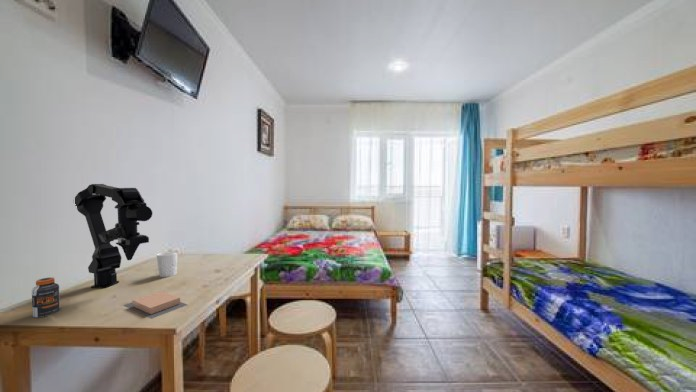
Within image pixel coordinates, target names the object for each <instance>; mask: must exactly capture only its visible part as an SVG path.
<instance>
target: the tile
mask: <svg viewBox="0 0 696 392" xmlns="http://www.w3.org/2000/svg"><path fill="white" fill-rule="evenodd" d="M180 302H181V297H179V296H177V295H173V294H171V293H169V292H165V291H162V290H161V291H157V292H153V293H151V294H147V295H145V296H142V297H138V298H135V299H132V301H131V303H133V306H134V307H136V308H138V309H140V310H143V311H145V312H147V313H149V314H153V313H156V312H159V311H162V310H164V309H167V308H170V307H172V306H175V305H178V304H180Z"/></svg>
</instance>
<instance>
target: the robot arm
mask: <svg viewBox="0 0 696 392" xmlns="http://www.w3.org/2000/svg"><path fill="white" fill-rule="evenodd" d="M107 197H108V198H110V199H111V201H113V202H115V203H116V205H114V209H117V222H116V223H115V225H114V227H113V228H110V229H108V230H107V229H106V225H105V223H104V219H103V216H102V214H101V213H102V210H103V208H104V202H105V201H106V200H107ZM74 198H75V204H76V205H74V206H75V207H76V206H77V208H76V210H77V211H78V212H79V213H80V214H81V215H82V216H84V217H85V221H86V224H87V227H88V230H89V233H90V236H91V238H92V239H91V240H92V243H93V245H94V251H93V253H92V256H91V259H92V261H91V262H90V263H89V265H88V267H87V269H88V273H89V274H93V278H94V279H93V282H94V285H91V286H90V288H91V289H93V288H99V289H101V288H104V289H105V288H108V287H111V286H114V285H115V284H118V283H120V280H117V279H118V278H117V272H116V269H120V268H121V264H122V255H121V253H120V250H119V249H120V248H119V247H121V249H122V251H123V253H124V256H125V258H126V260H127V261H131V260H132V259H133V257H134V255H135V253H136V252H137V250H138V248H139V246H140V245H141V244H142V245H143V244H147V243H150V237H149V236H148V235H146V234H141V233H140V232H138V226H140V222H147V221H149V220H150V219H151V218H152V217H153V210H152V209H151V207H149V206H148V205H147V202H145V199H144V198H143V197H142V194H141V193H140V192H139V190H138V188H136V187H116V186H113V185H112V186H111V185H107V184H104V183H91V184H89V185H88V186H87V187H86V188H84V189H83V190H81V191H79V192H77V194H76V195H75V197H74ZM116 240H117V242H115V244H116V245H115V246H114V245H112V244H111V242H114V241H116ZM117 245H118V246H119V247H118V246H117Z"/></svg>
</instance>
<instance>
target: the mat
mask: <svg viewBox="0 0 696 392" xmlns="http://www.w3.org/2000/svg"><path fill="white" fill-rule="evenodd" d="M123 306H124V307H126V308H129V309H130V310H132V311H134V312H137V313H138V314H141V315H143V316H145V317H148V318H149V319H155V318H157V317H159V316H162V315H165V314H167V313H168V314H169V313H170V312H172V311H176V310H178V309H181V308H184V307H186V306H188V304H187V303H185V302H182V301H180V304H178V305H175V306H172V307H170V308H167V309H164V310H162V311H159V312H156V313H153V314H149V313H147V312H145V311H143V310H140V309H138V308H136V307H134V306H133V303H132V302H128V303H125V304H123Z"/></svg>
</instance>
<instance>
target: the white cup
mask: <svg viewBox="0 0 696 392" xmlns="http://www.w3.org/2000/svg"><path fill="white" fill-rule="evenodd" d="M156 261H157V269H158V277H160V278H170V277H174V276H176V275H177V274H178V272H177V271H178V251H175V250H172V251H163V252H160V253H157V254H156Z"/></svg>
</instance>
